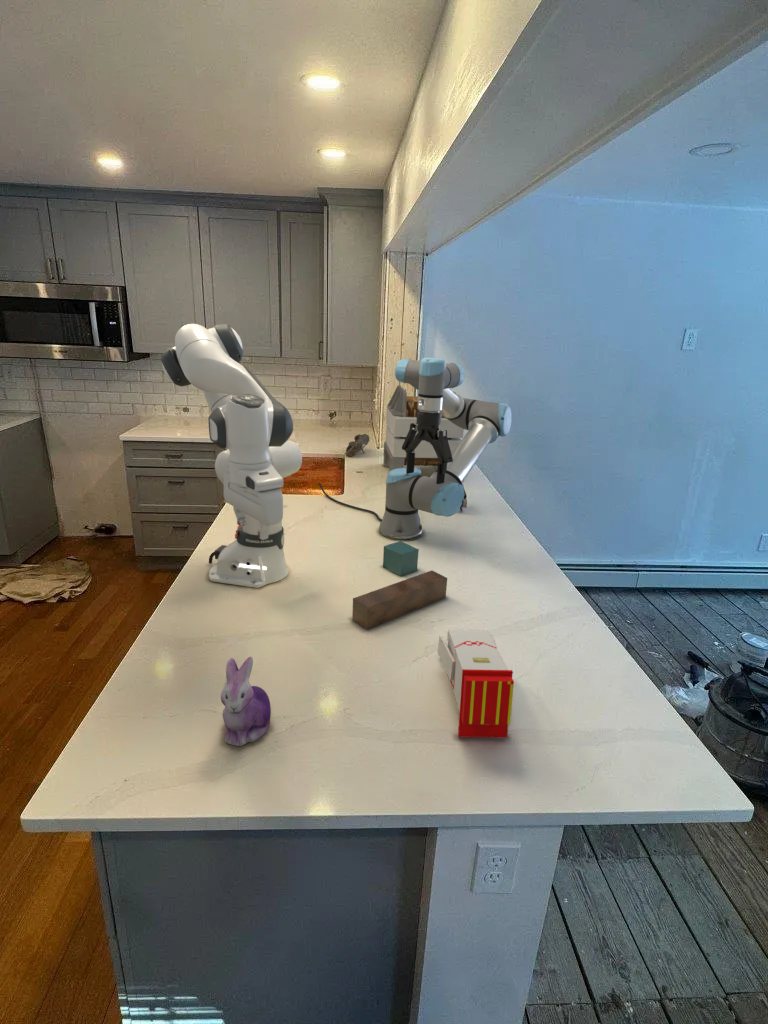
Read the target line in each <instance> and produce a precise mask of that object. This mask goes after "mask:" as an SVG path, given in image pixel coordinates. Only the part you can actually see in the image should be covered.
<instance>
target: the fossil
mask: <svg viewBox="0 0 768 1024" xmlns="http://www.w3.org/2000/svg"><path fill="white" fill-rule="evenodd" d="M369 443H370V436H369V434H367V433H363V434H361V433H360V434H356V435H355V436H354V441H349V442H348V445H347V447H346V449H345V455H346V457H348V458H351V457H354V456H356V455H357V454H359V453H361V452H362V454H365V451H364V448H365V447H366V446H368V444H369Z"/></svg>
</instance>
